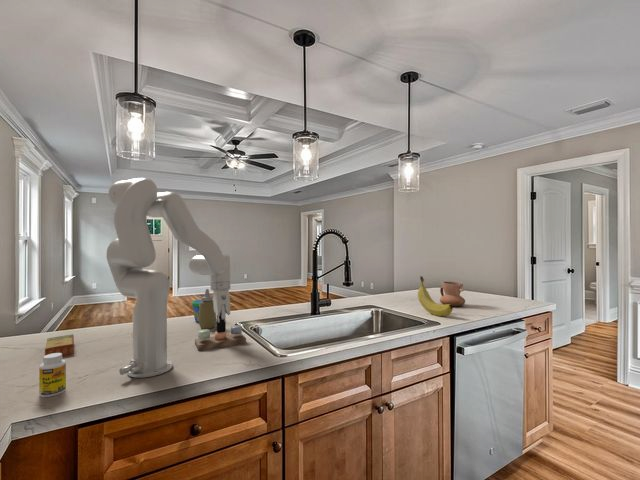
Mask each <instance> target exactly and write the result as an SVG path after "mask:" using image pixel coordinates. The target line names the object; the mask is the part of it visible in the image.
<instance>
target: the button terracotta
mask: <svg viewBox="0 0 640 480" xmlns="http://www.w3.org/2000/svg"><path fill="white" fill-rule="evenodd" d="M226 335H227V330H226V331H225V332H221V333H217V330H216V331H215V332H214V336H215V339H216V340H223V339H226Z"/></svg>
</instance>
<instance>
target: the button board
mask: <svg viewBox="0 0 640 480" xmlns="http://www.w3.org/2000/svg"><path fill="white" fill-rule="evenodd" d="M245 344H247V338H246V337H245V335H243V333H240V334H231V333H229V334H227V333H226V339H223V340H216V339H215V335H213V336H210V337H209V338H206V339H199V338H198V337H197V338H195V339H194V345H195V347H196V349H197V351H198V352H200V351H206V350H213V349H218V348H219V349H220V348H225V347H230V346H231V347H232V346H238V345H245Z"/></svg>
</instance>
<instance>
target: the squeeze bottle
mask: <svg viewBox="0 0 640 480" xmlns="http://www.w3.org/2000/svg"><path fill="white" fill-rule="evenodd" d="M201 299H202V302H201V303H200V308H199V319H198V321H199V322H198V324H199V326H200V329H201V330H204V329H208V330H210V329H212V328H213V329H214V327H215V324H216V322H217V317H216V314H215V312H214V308H213V301H212V300H213V296H211V293H210V290H209V289H208V288H206V289H205V291H204V296H202V297H201Z"/></svg>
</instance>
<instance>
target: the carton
mask: <svg viewBox="0 0 640 480" xmlns="http://www.w3.org/2000/svg"><path fill="white" fill-rule="evenodd" d="M53 353H62V357H66V356H73V355H74V354H75V337H74V334H65V335H62V336H55V337H54V336H53V337H48V338H47V339H46V344H45V348H44V356H46V355H48V354H53ZM72 354H73V355H72Z"/></svg>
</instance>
